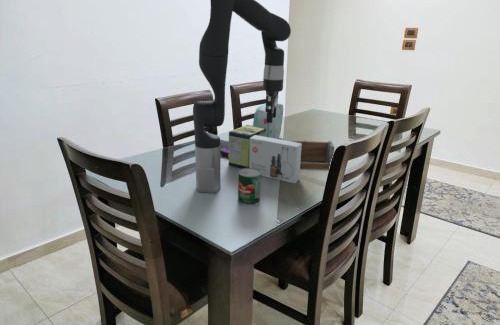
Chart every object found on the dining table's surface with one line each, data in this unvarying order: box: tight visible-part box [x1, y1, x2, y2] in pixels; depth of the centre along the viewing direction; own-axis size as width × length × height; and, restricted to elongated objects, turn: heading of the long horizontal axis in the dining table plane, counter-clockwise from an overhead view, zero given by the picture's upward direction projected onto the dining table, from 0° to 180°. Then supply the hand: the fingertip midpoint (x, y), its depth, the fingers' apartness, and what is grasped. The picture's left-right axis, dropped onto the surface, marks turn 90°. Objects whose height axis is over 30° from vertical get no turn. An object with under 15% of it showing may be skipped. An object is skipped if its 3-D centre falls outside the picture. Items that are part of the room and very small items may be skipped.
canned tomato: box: [237, 168, 262, 206], centre depth 125 cm, size 8×8×11 cm
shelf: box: [286, 139, 335, 170], centre depth 162 cm, size 11×28×10 cm, turn 87°
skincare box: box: [249, 135, 302, 184], centre depth 146 cm, size 21×5×16 cm, turn 62°
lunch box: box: [252, 102, 284, 139], centre depth 190 cm, size 27×10×21 cm, turn 161°
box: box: [220, 139, 229, 159], centre depth 177 cm, size 14×4×20 cm
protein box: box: [228, 124, 266, 169], centre depth 160 cm, size 10×16×16 cm
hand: (271, 119), depth 139 cm, fingers open, 8 cm apart
